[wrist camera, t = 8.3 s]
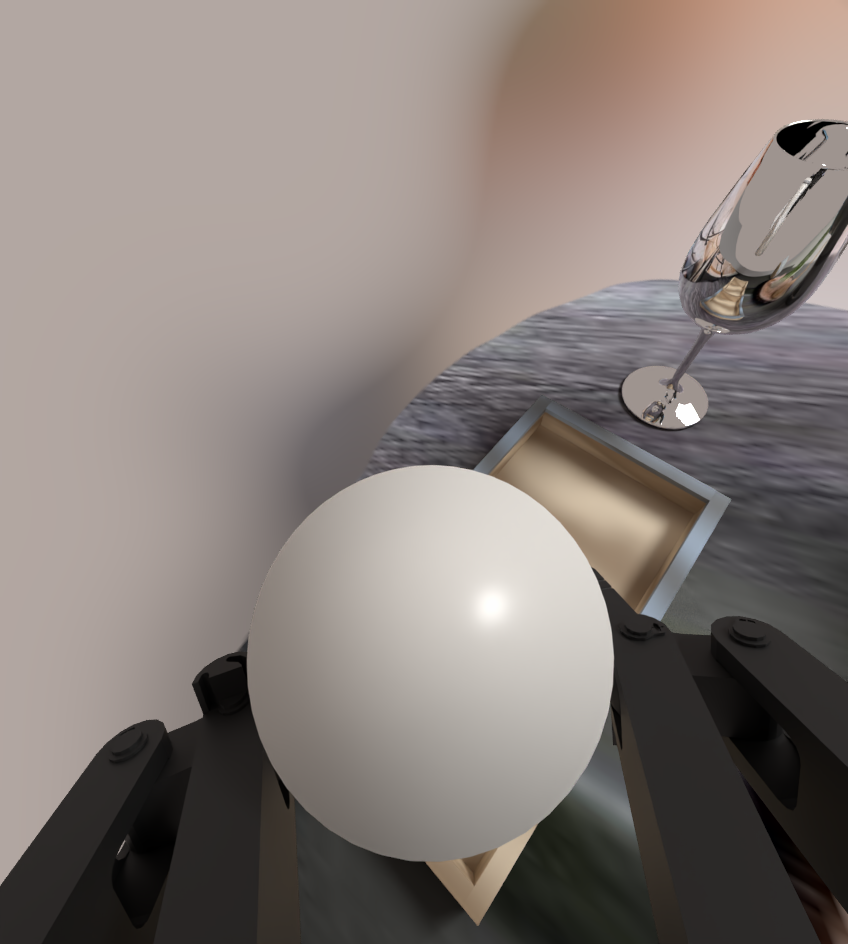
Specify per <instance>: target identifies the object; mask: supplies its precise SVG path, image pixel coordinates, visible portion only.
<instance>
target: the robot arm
mask: <svg viewBox="0 0 848 944" xmlns="http://www.w3.org/2000/svg"><path fill="white" fill-rule="evenodd" d="M591 568H592V567H591ZM592 570H593V572H594V574H595V576H596V578H597V581H598V583H599V586H600V589H601V592H602V595H603V597H604V600H605V603H606V607H607V612H608V616H609V621H610V625H611V630H612V641H613V652H614V668H613V687H612V693H611V698H610V703H611V715H612V733H613V745H617V747H618V751H619V756H620V761H621V765H622V770H623V775H624V780H625V784H626V789H627V794H628V798H629V803H630V808H631V813H632V817H633V822H634V827H635V831H636V836H637V841H638V846H639V850H640V855H641V860H642V864H643V869H644V874H645V879H646V883H647V888H648V893H649V898H650V902H651V907H652V912H653V916H654V921H655V926H656V931H657V935H658V940H659V944H821V943H820V941H819V939H818V937H817V935H816V933H815V931H814V928H813V926H812V924H811V922H810V920H809V918H808V916H807V914H806V912H805V910H804V908H803V906H802V904H801V901H800V899H799V897H798V895H797V893H796V891H795V889H794V887H793V885H792V883H791V881H790V879H789V876H788V874H787V872H786V870H785V868H784V866H783V864H782V862H781V860H780V858H779V856H778V854H777V852H776V849H775V847H774V845H773V843H772V841H771V839H770V837H769V835H768V833H767V831H766V829H765V827H764V824H763V822H762V820H761V818H760V816H759V814H758V812H757V810H756V808H755V806H754V804H753V802H752V800H751V797H750V795H749V793H748V791H747V789H746V787H745V785H744V783H743V781H742V779H741V777H740V775H739V773H738V770H737V768H738V769H739V770H740V772H741V773H742V774H743V776H744V777H745V778H746V780H747V781H748V782H749V784H750V785H751V786H752V788H753V789H754V790H755V792H756V793H757V794H758V796H759V797H760V798H761V800H762V801H763V802H764V803H765V805H766V806H767V807H768V809H769V810H770V811H771V813H772V814H773V815H774V817H775V818H776V819H777V821H778V822H779V823H780V825H781V826H782V827H783V829H784V830H785V831H786V833H787V834H788V835H789V837H790V838H791V839H792V841H793V842H794V843H795V845H796V846H797V847H798V848H799V850H800V851H801V852H802V854H803V855H804V856H805V858H806V859H807V860H808V862H809V863H810V864H811V866H812V867H813V868H814V870H815V871H816V872H817V874H818V875H819V876H820V878H821V879H822V880H823V882H824V883H825V884H826V886H827V887H828V888H829V889H830V891H831V892H832V893H833V895H834V896H835V897H836V899H837V900H838V901H839V903H840V904H841V905H842V907H843V908H844V909H845V911H846V912H847V913H848V683H847V682H846V681H845V680H843V679H842V678H841V677H839V676H838V675H837V674H835V673H834V672H833V671H832V670H830V669H829V668H828V667H826V666H825V665H824V664H823V663H821V662H820V661H819V660H817V659H816V658H815V657H813V656H812V655H811V654H810V653H808V652H807V651H806V650H804V649H803V648H802V647H800V646H799V645H798V644H797V643H795V642H794V641H793V640H791V639H790V638H789V637H788V636H786V635H785V634H784V633H782V632H781V631H779V630H778V629H776V628H774V627H773V626H771V625H769V624H767V623H764V622H761V621H758V620H756V619H751V618H746V617H740V616H732V617H723V618H720V619H717V620H716V621H715V622H714V623H713V624H711V635H692V634H679V633H672V632H671V631H670V630H669V629H668V628H667V626H666V625H665V624H664V623H662V622H660V621H659V620H657V619H656V618H653V617H650V616H647V615H644V614H637V613H636V612H635V611H634V610H633V609H632V608H631V607H630V605H629V604H628V603H627V602H626V601H625V600H624V599H623V598H622V597H621V596H620V595H619V594H618V593H617V592H616V591H615V590H614V588H612V587H611V585H610V584H609V583H608V582H607V581H606V580H604V578H603V577H602V576H601V575H600V574H599V572H598V571H597V570H596V569H594V568H592ZM192 686H193V688H194V691H195V693H196V696H197V699H198V701H199V704H200V706H201V709H202V711H203V718H201V719H199V720H197V721H195V722H193V723H190V724H188V725H186V726H183V727H181V728H178V729H176V730H174V731H171V732H169V733H167V731H166V728H165V726H164V723H163V722H161V721H159V720H146V721H143V722H140V723H137V724H134V725H132V726H130V727H128V728H127V729H125V730H123V731H121V732H120V733H119V734H117V735H116V736H115V737H114V738H112V739H111V740H110V741H108V742H107V743H106V744H105V745H104V746H103V748H102V749H101V750H100V751H99V752H98V753H97V754H96V756H95V757H94V758H93V760H92V761H91V762H90V764H89V765H88V767H87V768H86V769H85V771H84V772H83V773H82V775H81V776H80V778H79V779H78V780H77V782H76V783H75V784H74V786H73V787H72V788H71V790H70V791H69V793H68V794H67V795H66V797H65V798H64V799H63V801H62V802H61V804H60V805H59V806H58V808H57V809H56V810H55V812H54V813H53V814H52V816H51V817H50V819H49V820H48V821H47V823H46V824H45V825H44V827H43V828H42V829H41V831H40V832H39V834H38V835H37V836H36V838H35V839H34V841H33V842H32V843H31V845H30V846H29V847H28V849H27V850H26V851H25V853H24V854H23V855H22V857H21V858H20V860H19V861H18V862H17V864H16V865H15V866H14V868H13V869H12V870H11V872H10V873H9V875H8V876H7V877H6V879H5V880H4V881H3V883H2V884H1V886H0V944H301V930H300V909H299V888H298V867H297V845H296V824H295V803H294V796H293V795H292V794H291V792H290V791H289V790H288V789H287V788H286V786H285V785H284V783H283V781H282V780H281V778H280V777H279V775H278V773H277V772H276V770H275V769H274V767H273V766H272V764H271V762H270V760H269V757H268V755H267V753H266V751H265V749H264V746H263V744H262V742H261V740H260V737H259V734H258V730H257V727H256V724H255V720H254V717H253V714H252V708H251V702H250V696H249V690H248V677H247V652H235V653H231V654H227V655H225V656H223V657H221V658H218V659H216V660H215V661H213V662H212V663H210V664H209V665H207V666H206V667H205V668H203V670H202V671H201V672H200V673H199V674H198V675H197V676H196V678H195V680H194V681H193V683H192ZM735 765H736V766H737V768H736V766H735ZM124 840H125V843H124V845H123V847H122V849H121V851H120V852H119V854H118V851H119V849H120V847H121V845H122V843H123V841H124ZM117 854H118V855H117Z"/></svg>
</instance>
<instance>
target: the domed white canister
mask: <svg viewBox="0 0 848 944" xmlns="http://www.w3.org/2000/svg"><path fill="white" fill-rule="evenodd" d="M613 668H614V652H613V641H612V630H611V625H610V621H609V616H608V612H607V607H606V603H605V600H604V597H603V595H602V592H601V589H600V586H599V583H598V581H597V578H596V576H595V574H594V572H593V570H592V568H591V566H590V564H589V562H588V560H587V558H586V557H585V555H584V554H583V552H582V551H581V549H580V548H579V546H578V544H577V543H576V541H575V540H574V539H573V537H572V536H571V535H570V534H569V533H568V531H567V530H566V529H565V528H564V527H563V525H562V524H561V523H560V522H559V521H558V520H557V519H556V518H555V517H554V516H553V515H552V514H551V513H550V512H549V511H548V510H547V509H546V508H544V507H543V506H542V505H541V504H539V503H538V502H537V501H535V500H534V499H533V498H531V497H530V496H529V495H527V494H526V493H524V492H522V491H520V490H519V489H517V488H515V487H514V486H512V485H510V484H508V483H506V482H504V481H501V480H499V479H497V478H495V477H492V476H490V475H486V474H483V473H480V472H477V471H473V470H469V469H463V468H458V467H452V466H438V465H426V466H411V467H405V468H399V469H394V470H390V471H386V472H383V473H379V474H376V475H373V476H371V477H368V478H366V479H363V480H361V481H358V482H357V483H355V484H353V485H351V486H349V487H347V488H345V489H344V490H342V491H340V492H339V493H337V494H336V495H334V496H333V497H331V498H330V499H328V500H327V501H325V502H324V503H323V504H322V505H321V506H319V507H318V508H317V509H316V510H315V511H314V512H312V513H311V514H310V515H309V516H308V517H307V518H306V519H305V520H304V521H303V523H302V524H301V525H300V526H299V527H298V528H297V529H296V530H295V531H294V532H293V534H292V535H291V536H290V538H289V539H288V540H287V542H286V543H285V544H284V546H283V547H282V548H281V550H280V552H279V553H278V555H277V557H276V559H275V561H274V562H273V564H272V565H271V567H270V569H269V571H268V574H267V576H266V578H265V580H264V583H263V585H262V587H261V590H260V593H259V596H258V599H257V602H256V605H255V608H254V612H253V617H252V622H251V627H250V632H249V639H248V652H247V677H248V690H249V696H250V702H251V708H252V714H253V717H254V720H255V724H256V727H257V730H258V734H259V737H260V740H261V742H262V744H263V746H264V749H265V751H266V753H267V755H268V757H269V760H270V762H271V764H272V766H273V767H274V769H275V770H276V772H277V773H278V775H279V777H280V778H281V780H282V781H283V783H284V785H285V786H286V788H287V789H288V790H289V791H290V792H291V794H292V795H293V796H294V797H295V798H296V799H297V801H298V802H299V803H300V804H301V805H302V806H303V807H304V809H305V810H306V811H307V812H309V813H310V814H311V815H312V816H313V817H315V818H316V819H317V820H318V821H319V822H320V823H322V824H323V825H324V826H325V827H326V828H327V829H329V830H331V831H332V832H334V833H336V834H337V835H339V836H341V837H342V838H344V839H346V840H347V841H349V842H350V843H352V844H354V845H357V846H359V847H362V848H364V849H367V850H369V851H372V852H374V853H377V854H380V855H383V856H388V857H393V858H398V859H403V860H408V861H431V862H441V861H448V860H455V859H461V858H468V857H472V856H475V855H478V854H481V853H484V852H487V851H490V850H493V849H496V848H498V847H500V846H502V845H504V844H506V843H508V842H510V841H511V840H513V839H515V838H517V837H519V836H521V835H522V834H524V833H526V832H527V831H528V830H530V829H531V828H532V827H534V826H535V825H536V824H537V823H539V822H540V821H541V820H542V819H544V818H545V817H546V816H548V815H549V814H550V813H551V812H552V811H553V810H554V808H555V807H556V806H557V805H558V804H559V803H560V802H561V801H562V800H563V799H564V798H565V797H566V796H567V794H568V793H569V792H570V791H571V789H572V788H573V786H574V785H575V783H576V782H577V781H578V779H579V778H580V776H581V775H582V773H583V772H584V770H585V769H586V767H587V765H588V763H589V761H590V759H591V757H592V755H593V753H594V750H595V748H596V746H597V744H598V742H599V740H600V737H601V733H602V730H603V727H604V724H605V721H606V718H607V714H608V710H609V704H610V698H611V693H612V687H613Z"/></svg>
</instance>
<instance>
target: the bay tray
mask: <svg viewBox="0 0 848 944" xmlns="http://www.w3.org/2000/svg"><path fill="white" fill-rule="evenodd" d="M473 471H477V472H480V473H483V474H486V475H490V476H492V477H495V478H497V479H499V480H501V481H504V482H506V483H508V484H510V485H512V486H514V487H515V488H517V489H519V490H520V491H522V492H524V493H526V494H527V495H529V496H530V497H531V498H533V499H534V500H535V501H537V502H538V503H539V504H541V505H542V506H543V507H544V508H546V509H547V510H548V511H549V512H550V513H551V514H552V515H553V516H554V517H555V518H556V519H557V520H558V521H559V522H560V523H561V524H562V525H563V527H564V528H565V529H566V530H567V531H568V533H569V534H570V535H571V536H572V537H573V539H574V540H575V541H576V543H577V544H578V546H579V548H580V549H581V551H582V552H583V554H584V555H585V557H586V558H587V560H588V562H589V564H590V566H591V567H592V568H594V569H596V570H597V571H598V572H599V574H600V575H601V576H602V577H603V578H604V580H606V581H607V582H608V583H609V584H610V585H611V587H612V588H614V590H615V591H616V592H617V593H618V594H619V595H620V596H621V597H622V598H623V599H624V600H625V601H626V602H627V603H628V604H629V605H630V607H631V608H632V609H633V610H634V611H635V612H636V613H637V614H644V615H647V616H650V617H653V618H656V619H657V620H659V621H661V619H662V617H663V616H664V614H665V612H666V611H667V609H668V607H669V605H670V604H671V602H672V600H673V599H674V597H675V595H676V593H677V592H678V590H679V588H680V586H681V585H682V583H683V581H684V580H685V578H686V576H687V574H688V573H689V571H690V569H691V568H692V566H693V564H694V562H695V561H696V559H697V557H698V556H699V554H700V552H701V550H702V549H703V547H704V545H705V544H706V542H707V540H708V538H709V537H710V535H711V533H712V532H713V530H714V528H715V526H716V525H717V523H718V521H719V520H720V518H721V516H722V514H723V513H724V511H725V509H726V508H727V506H728V504H729V502H730V501H731V499H730V498H728V497H726V496H725V495H723V494H721V493H719V492H717V490H715V489H713V488H711V487H709V486H708V485H706V484H704V483H702V482H700V481H698V480H697V479H695V478H693V477H691V476H689V475H688V474H686V473H684V472H682V471H680V470H678V469H677V468H675V467H673V466H671V465H669V464H668V463H666V462H664V461H662V460H660V459H659V458H657V457H655V456H653V455H651V454H649V453H648V452H646V451H644V450H642V449H640V448H639V447H637V446H635V445H633V444H631V443H630V442H628V441H626V440H624V439H622V438H620V437H619V436H617V435H615V434H613V433H611V432H610V431H608V430H606V429H604V428H602V427H601V426H599V425H597V424H595V423H593V422H591V421H590V420H588V419H586V418H584V417H582V416H581V415H579V414H577V413H575V412H573V411H571V410H570V409H568V408H566V407H564V406H562V405H561V404H559V403H557V402H555V401H553V400H551V399H549V398H547V397H545V396H543V395H541V396H540V397H539V398H538V399H537V401H536V402H535V403H534V404H533V405H532V406H531V407H530V408H529V409H528V410H527V411H526V413H525V414H524V415H523V416H522V417H521V418H520V419H519V420H518V421H517V422H516V423H515V425H514V426H513V427H512V428H511V429H510V430H509V431H508V432H507V433H506V434H505V435H504V437H503V438H502V439H501V440H500V441H499V442H498V443H497V444H496V445H495V446H494V447H493V449H492V450H491V451H490V452H489V453H488V454H487V455H486V456H485V457H484V458H483V460H482V461H481V462H480V463H479V464H478V465H477V466H476V467H475V468H474V469H473ZM537 824H538V823H537ZM537 824H536V825H535V826H534V827H532V828H531V829H530V830H528V831H527V832H526V833H524V834H522V835H521V836H519V837H517V838H515V839H513V840H511V841H510V842H508V843H506V844H504V845H502V846H500V847H498V848H496V849H493V850H490V851H487V852H484V853H481V854H478V855H475V856H472V857H468V858H461V859H455V860H448V861H441V862H431V861H425V862H426V864H427V865H428V866H429V867H430V868H431V870H432V871H433V872H434V873H435V875H436V876H437V877H438V878H439V879H440V881H441V882H442V883H443V884H444V885H445V887H446V888H447V889H448V890H449V892H450V893H451V894H452V895H453V896H454V898H455V899H456V900H457V901H458V902H459V904H460V905H461V906H462V907H463V908H464V910H465V911H466V912H467V913H468V915H469V916H470V917H471V918H472V919H473V921H474V922H475V923H476V924H477V925H479V923H480V922H481V920H482V918H483V916H484V915H485V913H486V911H487V910H488V908H489V906H490V904H491V903H492V901H493V899H494V898H495V896H496V894H497V893H498V891H499V889H500V887H501V886H502V884H503V882H504V881H505V879H506V877H507V875H508V874H509V872H510V870H511V869H512V867H513V865H514V864H515V862H516V860H517V858H518V857H519V855H520V853H521V852H522V850H523V848H524V847H525V845H526V843H527V841H528V840H529V838H530V836H531V835H532V833H533V831H534V829H535V828H536V826H537Z"/></svg>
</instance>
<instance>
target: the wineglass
mask: <svg viewBox="0 0 848 944" xmlns="http://www.w3.org/2000/svg"><path fill="white" fill-rule="evenodd" d="M847 245H848V122H847V121H840V120H828V119H815V120H804V121H799V122H795V123H791V124H788V125H786V126H784V127H782V128H780V129H779V130H778V131H777V132H776V133H775V134H774V136H773V137H772V138H771V139H770V140H769V142H768V143H767V144H766V146H765V147H764V148H763V149H762V151H761V152H760V153H759V154H758V156H757V157H756V158H755V159H754V161H753V162H752V163H751V165H750V166H749V167H748V168H747V170H746V171H745V172H744V173H743V175H742V176H741V177H740V179H739V180H738V181H737V183H736V184H735V185H734V187H733V188H732V189H731V191H730V192H729V193H728V195H727V196H726V197H725V199H724V200H723V201H722V203H721V204H720V205H719V207H718V208H717V209H716V211H715V212H714V213H713V215H712V216H711V217H710V219H709V220H708V222H707V223H706V225H705V226H704V228H703V229H702V231H701V232H700V234H699V236H698V237H697V239H696V240H695V242H694V244H693V246H692V247H691V249H690V251H689V252H688V255H687V257H686V259H685V262H684V264H683V267H682V269H681V271H680V277H679V284H678V292H679V297H680V301H681V305H682V308H683V309H684V311H685V313H686V314H687V315H688V316H689V318H690V319H691V320H692V321H693V322H694V323H695V324H696V325H698V326H699V327H701V330H700V332H699V334H698V337H697V339H696V340H695V342H694V344H693V345H692V347H691V349H690V350H689V352H688V353H687V355H686V356H685V358H684V359H683V361H682V362H681V364H680V366H679V367H678V369H674V368H670V367H665V366H648V367H644V368H640V369H638V370H636V371H634V372H632V373H631V374H630V375H628V376H627V378H626V379H625V380H624V382H623V385H622V390H621V393H622V399H623V401H624V404H625V405H626V407H627V408H628V410H629V411H630V412H631V413H632V414H633V415H634V416H636V417H637V418H639V419H640V420H642V421H643V422H645V423H647V424H649V425H652V426H655V427H659V428H664V429H684V428H687V427H691V426H693V425H695V424H697V423H698V422H699V421H701V420H702V419H703V418H704V416H705V415H706V413H707V410H708V397H707V394H706V392H705V390H704V389H703V387H702V386H701V385H700V384H699V383H698V382H697V381H696V380H695V379H694V378H693V377H691V376H689V375H688V374H686V373H685V372H686V371H687V369H688V368H689V366H690V365H691V363H692V362H693V360H694V359H695V358H696V356H697V355H698V353H699V352H700V350H701V349H702V348H703V346H704V345H705V344H706V342H707V341H708V340H709V339H710V338H711V337H712V336H713V335H714V334H715V333H716V334H723V335H733V334H746V333H752V332H755V331H758V330H761V329H764V328H767V327H770V326H772V325H774V324H776V323H778V322H780V321H782V320H783V319H785V318H786V317H788V316H789V315H791V314H793V313H794V312H795V311H796V310H798V309H799V308H800V307H801V306H802V305H803V304H804V303H805V302H806V301H807V300H808V299H809V298H810V297H811V296H812V295H813V294H814V292H815V291H816V290H817V289H818V287H819V286H820V285H821V283H822V282H823V281H824V279H825V278H826V277H827V275H828V274H829V273H830V271H831V270H832V268H833V267H834V265H835V264H836V262H837V261H838V259H839V258H840V256H841V255H842V253H843V251H844V250H845V248H846V247H847Z"/></svg>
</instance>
